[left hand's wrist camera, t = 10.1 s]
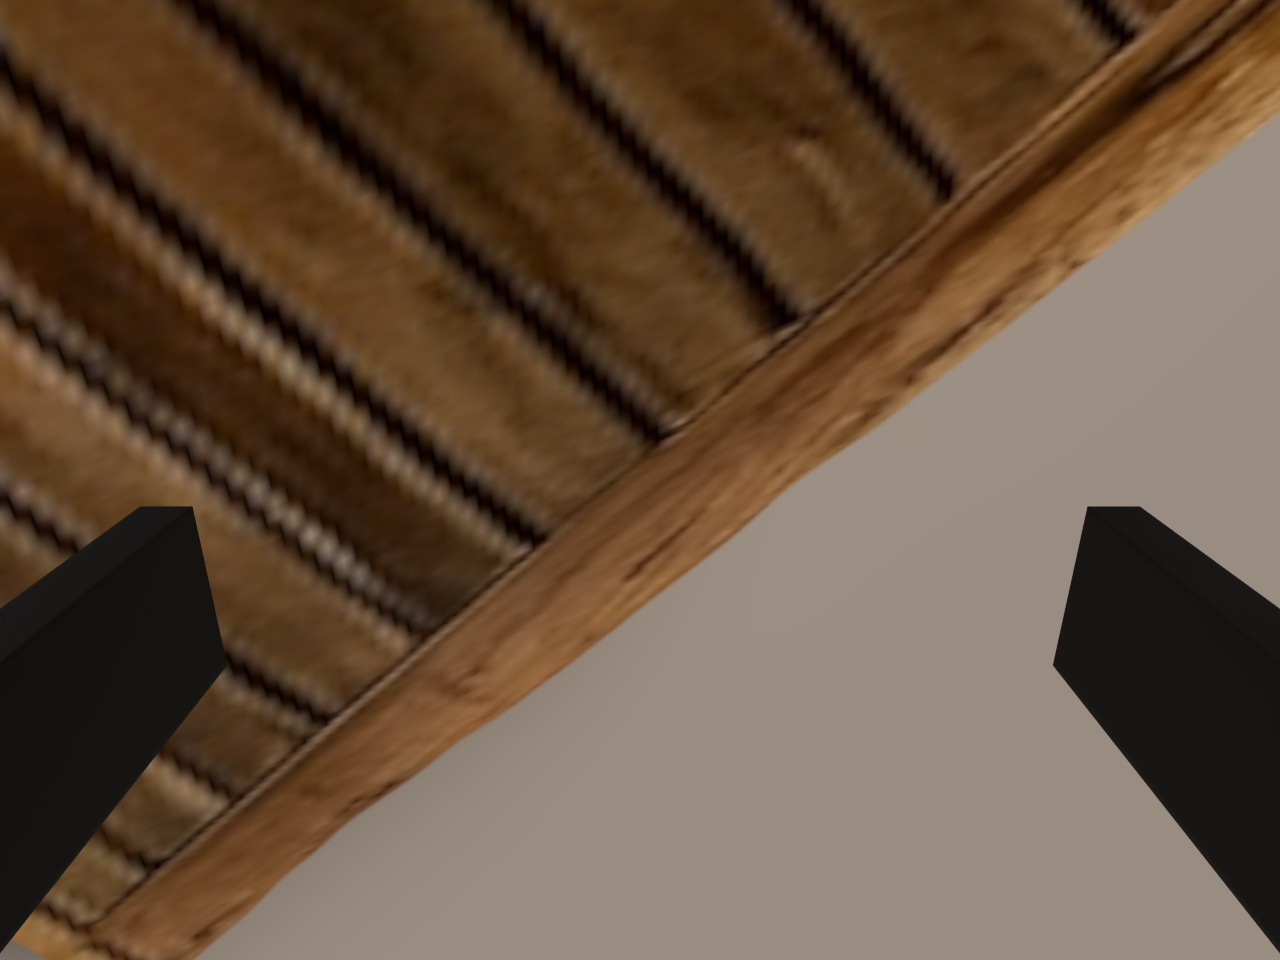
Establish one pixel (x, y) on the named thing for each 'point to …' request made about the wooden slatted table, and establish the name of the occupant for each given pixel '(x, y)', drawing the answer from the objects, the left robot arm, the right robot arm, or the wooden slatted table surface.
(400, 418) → the wooden slatted table surface
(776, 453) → the wooden slatted table surface
